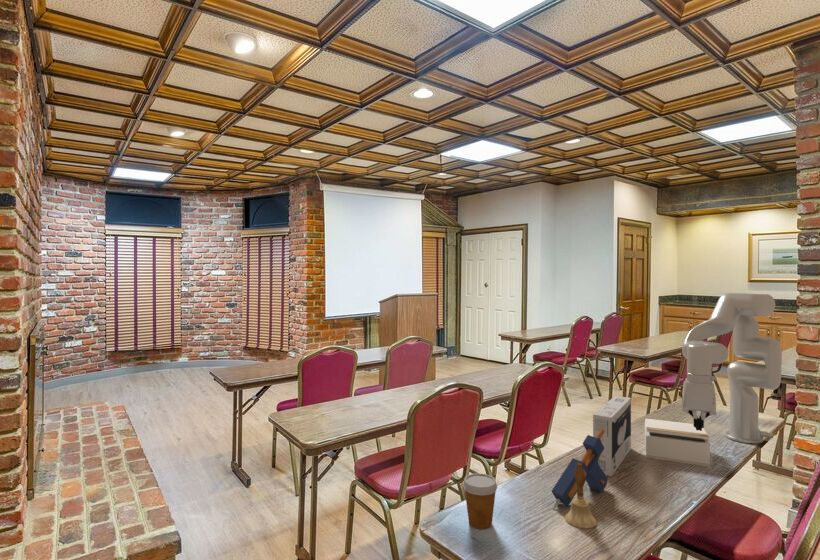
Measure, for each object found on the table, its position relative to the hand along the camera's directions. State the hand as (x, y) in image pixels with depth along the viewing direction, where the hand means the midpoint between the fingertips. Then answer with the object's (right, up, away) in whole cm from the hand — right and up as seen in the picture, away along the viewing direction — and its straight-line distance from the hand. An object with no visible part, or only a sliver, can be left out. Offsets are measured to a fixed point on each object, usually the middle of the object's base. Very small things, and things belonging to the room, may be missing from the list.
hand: (698, 429), depth 164 cm
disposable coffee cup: (-84, -14, -38) cm, 93 cm away
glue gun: (-51, -13, -24) cm, 58 cm away
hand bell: (-56, -14, -37) cm, 68 cm away
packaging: (-29, -13, +4) cm, 32 cm away
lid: (-3, -3, +10) cm, 10 cm away
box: (-3, -12, +10) cm, 16 cm away
